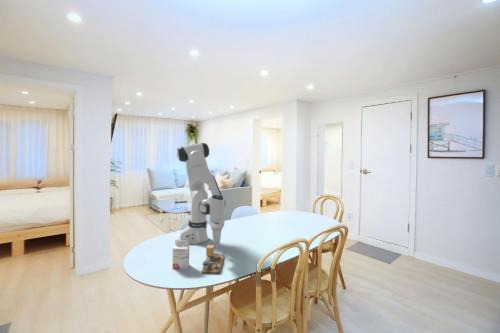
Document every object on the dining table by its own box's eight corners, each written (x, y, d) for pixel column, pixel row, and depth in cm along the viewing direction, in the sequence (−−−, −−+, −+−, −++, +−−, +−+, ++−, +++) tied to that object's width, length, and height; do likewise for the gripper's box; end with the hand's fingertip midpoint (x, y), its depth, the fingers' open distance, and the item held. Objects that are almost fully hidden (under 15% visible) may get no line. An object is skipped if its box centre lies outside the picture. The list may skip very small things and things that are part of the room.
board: (201, 273, 134) (201, 265, 133) (208, 255, 156) (208, 249, 155) (219, 273, 134) (219, 266, 133) (224, 256, 156) (224, 249, 155)
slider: (206, 258, 148) (206, 247, 148) (207, 255, 152) (207, 245, 152) (219, 258, 148) (219, 248, 148) (220, 256, 152) (220, 245, 152)
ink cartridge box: (172, 268, 138) (172, 243, 137) (174, 264, 143) (174, 239, 142) (187, 268, 138) (187, 243, 137) (189, 264, 143) (189, 240, 142)
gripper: (212, 217, 160) (212, 237, 161) (211, 227, 140) (210, 251, 141) (222, 217, 161) (222, 237, 162) (222, 227, 141) (222, 250, 142)
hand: (216, 244), depth 152 cm, fingers open, 8 cm apart
